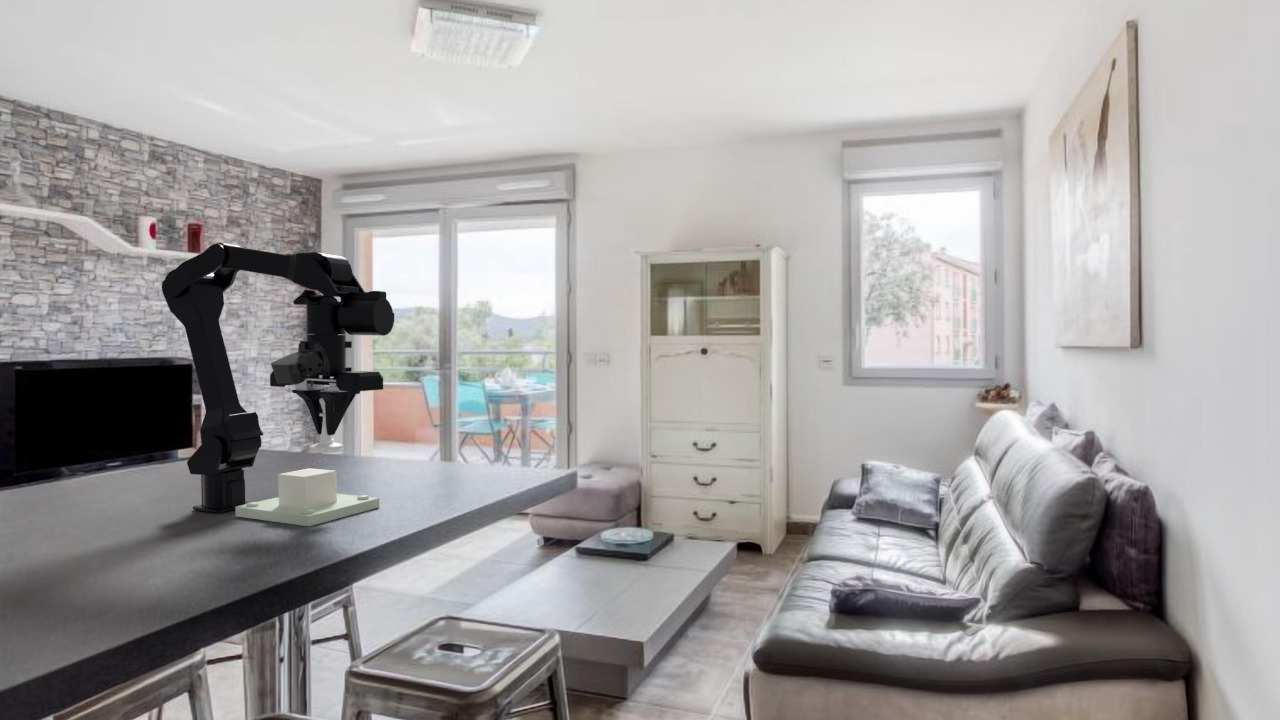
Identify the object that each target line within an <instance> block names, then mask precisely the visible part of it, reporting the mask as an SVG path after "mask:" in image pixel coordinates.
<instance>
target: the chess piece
mask: <svg viewBox="0 0 1280 720" xmlns="http://www.w3.org/2000/svg"><path fill="white" fill-rule="evenodd" d="M328 387H329V386H324V391H328ZM324 391H321V392H324ZM319 401H320V404H321V407H322V410H323V413H320V415H319V416H323V424H322V432H321V434H320V439H318V441H319V442H318V443H314V444H312V445H310V446H309V452H310V453H317V454H319V453H320V454H326V453H327V454H328V453H337V452H341V451H344V448H343V447H344V445H343V444H342V443H340V442H339V443H338V442H335V438H333V435H328V434H327V428H326V411H325V401H324V400H323V398H321V399H319Z"/></svg>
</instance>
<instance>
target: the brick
mask: <svg viewBox="0 0 1280 720" xmlns="http://www.w3.org/2000/svg"><path fill="white" fill-rule="evenodd" d="M337 480H338V479H337V470H334V469H332V470H331V469H321V468H320V469H319V468H310V467H308V468H304V469H299V470H293V471H287V472H283V473H282V472H281V473H278V474H277V491H278V493H277V495H278V496H277V497H278V501H279V506H281V507H289V508H297V509H311V508H315V507H319V506H323V505H327V504H331V503H335V502H337V494H338V489H337V488H338V487H337V486H338V485H337V484H338V483H337Z"/></svg>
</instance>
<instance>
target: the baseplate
mask: <svg viewBox="0 0 1280 720" xmlns="http://www.w3.org/2000/svg"><path fill="white" fill-rule="evenodd" d="M249 502H250V503H247V504H245V505H241V506H236V507H235V509H234V512H235V517H238V518H239V517H240V518H245V519H252V520H253V519H254V520H261V521H267V522H274V523H276V522H277V523H282V524H289V525H297V526H303V527H311V526H315V525H319V524H324V523H326V522H330V521H333V520H337V519H342V518H346V517H348V516H353V515H356V514H360V513H363V512H368V511H370V510H375V509H379V508H380V497H379V498H378V497H371V496H370V495H366V494H365V495H355V494H345V493H337V502H335V503H331V504H327V505H323V506H319V507H315V508H311V509H297V508H289V507H281V506H279V501H278V496H277V497H272V498H269V499H263V500H259V501H249Z"/></svg>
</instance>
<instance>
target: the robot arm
mask: <svg viewBox="0 0 1280 720" xmlns="http://www.w3.org/2000/svg"><path fill="white" fill-rule="evenodd" d="M240 271H244V272H248V273H249V272H250V273H251V272H252V273H256V274H262V275H266V276H267V275H268V276H275V277H280V278H284V279H286V280H288V281H290V282H291V283H293V284H295V285H299V286H301V287H303V288H306V289H304V290H303V291H302V293H301V294H300V295H299V296H297V297H296V298H295V299H293V302H292V303H293V304H294V305H297V306H305V307H306V310H305V311H306V314H305V315H306V316H305V317H306V319H305V321H306V325H305V326H306V327H305V329H306V330H305V331H306V332H305V333H306V334H305V336H306V337H305V340H300V341H299V343H298V351H296V352H294V353H291V354H288V355H286V356H284V357H282V358H279V359H277V360H275V361H273V362H271V363H270V365H271V368H272V372H271V373H270V374H269V386H270V387H276V388H277V387H278V388H285V387H286V386H295V389H291V392H292V393H293V394H295V395H297V396H299V397H300V398H301V399H302V400H303V401H304V403H305V404H306V406H307V409H308V411H309V415H310V418H311V419H312V422H313V424H314V428H315V431H316V433H317V435H321V432H322V424H323V416H319V415H320V413H323V410H322V407H321V404H320V401H319V399H321V398H323V400H324V401H325V411H326V428H327V434H328V435H332V436H334V435H335V434H336V432H337V430H338V428H339V427H340V424H341V422H342V421H343V418H344V416H345V414H346V412H347V410H348V409H349V407H350V405H351V403H353V400H354V399H355V397H356V395H359V394H361V392H368V391H370V392H371V391H380V390H381V391H382V390H384V377H383V375H382V373H380V371H370V370H369V371H368V370H355V371H353V370H352V367H350V366H348V367H347V366H346V365H347V364H346V363H347V362H346V361H347V360H346V356H347V355H346V354H347V353H346V351H347V349H351V348H352V341H350V340H349V341H348V340H347V339H346V338H347V337H346V335H347V334H348V335H350V336H379V337H380V336H384V337H385V336H387V335H389V334H390V333H391V331H392V329H393V327H394V325H395V313H394V311H393V308H392V305H391V303H390V302H389V300H388V299H387V292H386V291H385V290H384V291H383V290H370V291H365V290H364V288H363V287H362V285H361V284H360V282H359V281H358V279H357V277H356V276H355V274H354V273H353V268H352V265H351V264H350V262H349V260H348V259H347V258H346V257H344V256H341V255H334V254H329V253H323V252H315V251H313V252H311V251H309V252H307V251H306V252H296V253H291V254H290V253H288V254H284V253H278V252H272V251H267V250H266V251H265V250H260V249H253V248H248V247H247V248H246V247H242V246H241V245H238V244H231V243H225V242H216V243H213V244H211V245H210V246H209V247H207V248H206V249H205V250H204V251H203V252H201V253H199V254H198V255H196V256H193V257H191V258H188V259H187V260H185V261H183V262H182V263H180V264H179V265H178V266H177V267H176V268H175V269H172V270H171V271H169V272H168V273H167V275H165V278H164V280H163V281H161V291H162V295H163V297H164V299H165V302H166V304H167V307H168V309H169V311H170V312H171V313H172V314H173V316H174V317H175V318H176V319H177V320H178V321H179V322H180V323H181V324H182V325H183V327H184V329H185V334H186V338H187V341H188V342H187V343H188V345H189V350H190V354H191V357H192V358H191V359H192V361H193V365H194V369H195V372H196V373H195V374H196V377H197V381H198V386H199V389H200V394H201V396H202V401H203V405H204V410H205V415H204V416H203V420H202V423H201V426H200V429H199V431H200V432H199V433H200V442H201V445H200V446H198V448H197V449H196V451H194V452H193V454H192V455H191V456H190V457H189V458H188V460H187V461H186V465H187V468H188V470H189V474H190V475H200V482H201V483H200V484H201V486H200V488H201V491H200V492H201V504H199V505H194V506H192V510H193V511H200V512H208V513H215V514H220V513H223V512H228V511H232V510H233V511H235V507H236V506H241V505H245V504H247V503H250V502H251V501H247V500H246V479H245V468H251V467H253V466H254V464H255V461H256V457H257V454H258V452H259V450H260V448H262V437H263V436H264V432H263V430H262V429H261V426H260V422H259V421H260V420H259V416H258V414H257V413H258V412H257V411H251V412H250V411H247V410H246V409H245V408H244V407H243V406H242V404H241V403H240V400H239V397H238V392H237V389H236V385H235V380H234V377H233V373H232V369H231V365H230V360H229V357H228V352H227V349H226V345H225V340H224V336H223V334H222V330H221V326H220V318H221V315H222V312H223V309H224V306H225V299H224V293H225V292H226V291H227V290H228V289H229V288H231V286H233V284H234V282H235V279H236V278H237V277H236V276H237V274H238V273H239V272H240ZM315 291H318V292H319V293H321V294H317V293H316V292H315ZM336 297H337V298H340V301H339V300H338V299H337V298H336ZM325 386H327V387H328V391H324V387H325ZM321 391H324V392H321Z"/></svg>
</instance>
